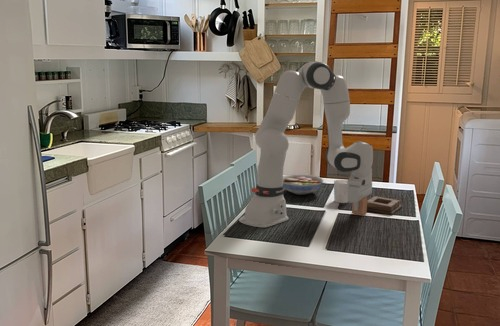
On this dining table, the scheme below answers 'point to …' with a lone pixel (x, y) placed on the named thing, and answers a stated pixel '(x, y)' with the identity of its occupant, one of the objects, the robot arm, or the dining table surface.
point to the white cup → (340, 191)
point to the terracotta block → (361, 207)
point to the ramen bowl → (301, 183)
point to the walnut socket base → (383, 205)
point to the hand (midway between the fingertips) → (359, 207)
